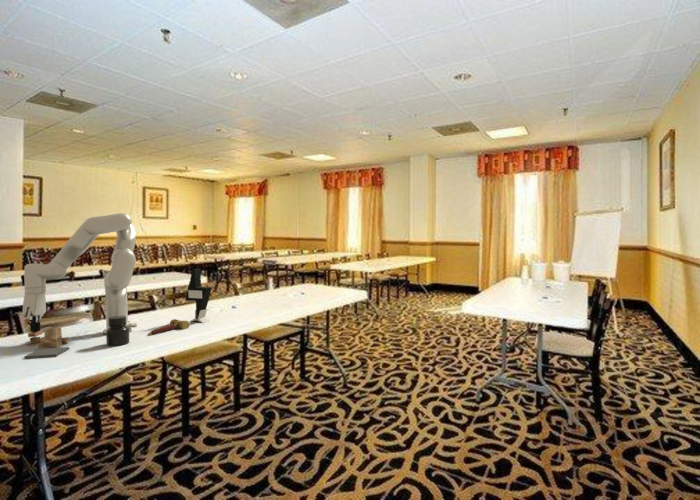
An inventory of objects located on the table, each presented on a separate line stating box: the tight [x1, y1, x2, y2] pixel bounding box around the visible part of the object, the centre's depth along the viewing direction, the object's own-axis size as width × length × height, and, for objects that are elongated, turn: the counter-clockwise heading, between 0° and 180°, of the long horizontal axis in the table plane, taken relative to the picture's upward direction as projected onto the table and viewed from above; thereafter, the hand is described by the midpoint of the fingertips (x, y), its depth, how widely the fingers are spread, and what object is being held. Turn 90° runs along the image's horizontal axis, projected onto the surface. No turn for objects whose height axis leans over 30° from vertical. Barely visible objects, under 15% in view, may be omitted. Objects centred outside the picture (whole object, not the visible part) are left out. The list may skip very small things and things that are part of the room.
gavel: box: [146, 318, 191, 336], centre depth 199 cm, size 21×5×10 cm
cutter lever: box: [27, 326, 51, 338], centre depth 181 cm, size 3×15×2 cm, turn 12°
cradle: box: [37, 337, 69, 350], centre depth 173 cm, size 7×10×2 cm
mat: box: [23, 346, 70, 360], centre depth 161 cm, size 11×11×1 cm
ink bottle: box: [105, 316, 130, 347], centre depth 176 cm, size 10×9×12 cm
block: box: [43, 326, 63, 347], centre depth 173 cm, size 4×4×8 cm
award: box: [184, 268, 212, 324], centre depth 221 cm, size 15×5×30 cm, turn 68°
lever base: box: [25, 336, 45, 347], centre depth 183 cm, size 5×18×4 cm, turn 12°
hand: (35, 330), depth 178 cm, fingers closed
